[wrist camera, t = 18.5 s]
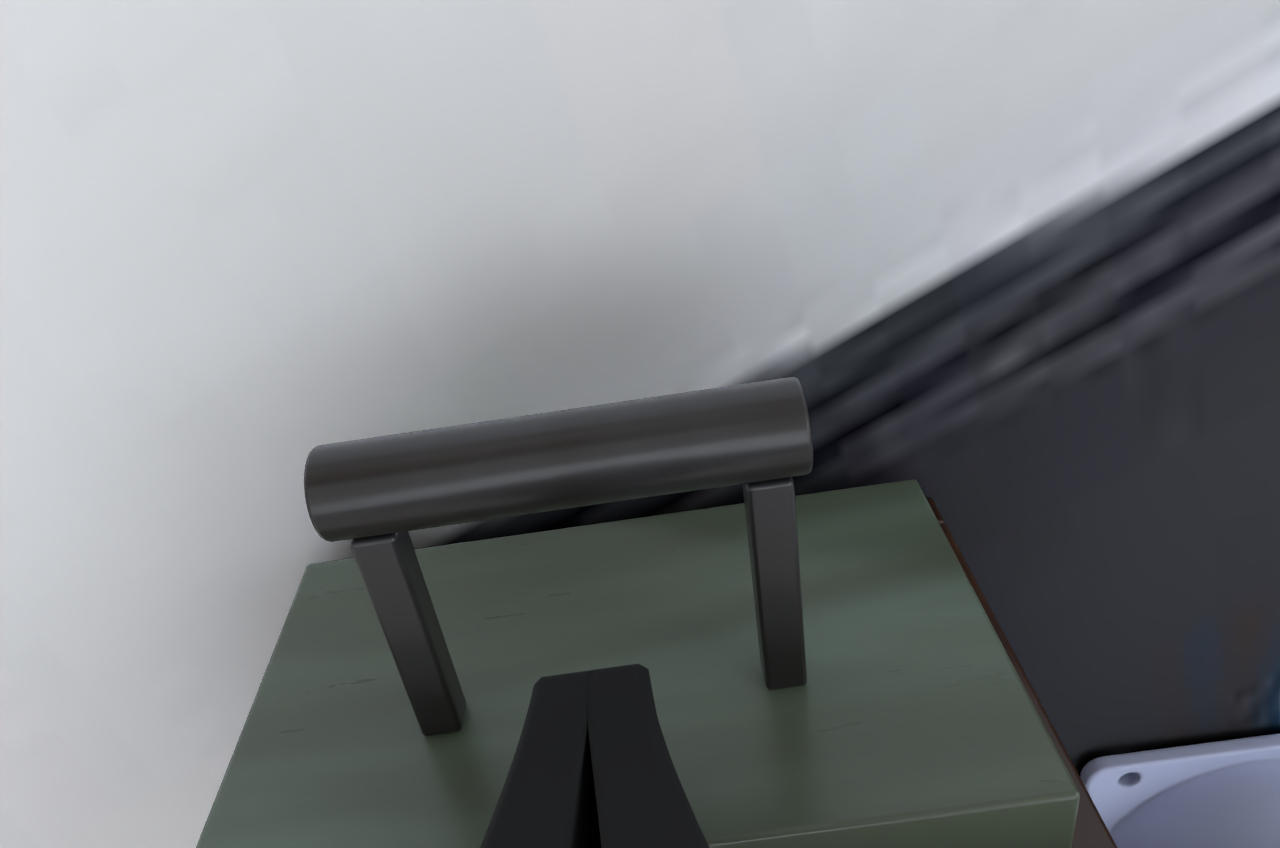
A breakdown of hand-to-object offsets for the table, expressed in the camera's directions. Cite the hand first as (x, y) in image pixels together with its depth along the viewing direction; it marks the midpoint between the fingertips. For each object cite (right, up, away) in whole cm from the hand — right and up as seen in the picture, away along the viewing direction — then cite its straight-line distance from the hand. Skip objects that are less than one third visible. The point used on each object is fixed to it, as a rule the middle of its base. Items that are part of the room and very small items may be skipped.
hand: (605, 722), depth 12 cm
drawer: (0, -1, +7) cm, 8 cm away
